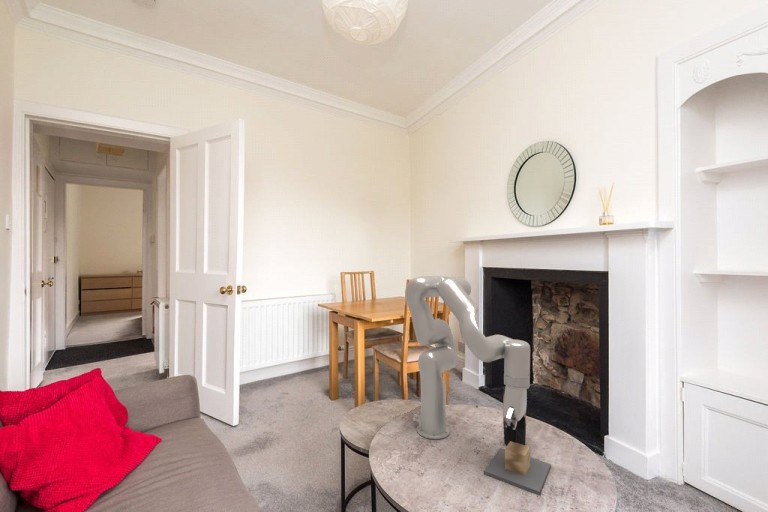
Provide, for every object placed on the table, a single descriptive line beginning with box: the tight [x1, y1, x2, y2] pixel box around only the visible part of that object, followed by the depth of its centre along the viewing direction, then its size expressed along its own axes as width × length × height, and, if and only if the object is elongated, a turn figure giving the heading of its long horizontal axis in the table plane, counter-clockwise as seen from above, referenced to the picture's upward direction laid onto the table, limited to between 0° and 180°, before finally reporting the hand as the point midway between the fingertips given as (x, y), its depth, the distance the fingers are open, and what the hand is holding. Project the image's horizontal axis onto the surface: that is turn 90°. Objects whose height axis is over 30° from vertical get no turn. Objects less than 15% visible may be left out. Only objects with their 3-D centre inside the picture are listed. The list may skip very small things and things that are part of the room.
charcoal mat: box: [483, 447, 552, 496], centre depth 105 cm, size 16×16×1 cm
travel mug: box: [502, 386, 527, 447], centre depth 120 cm, size 8×8×20 cm
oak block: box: [504, 441, 531, 476], centre depth 105 cm, size 6×6×6 cm
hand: (515, 434), depth 106 cm, fingers open, 9 cm apart
